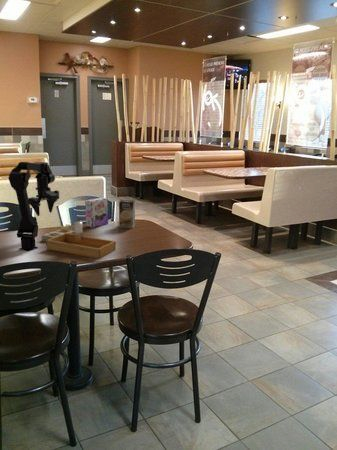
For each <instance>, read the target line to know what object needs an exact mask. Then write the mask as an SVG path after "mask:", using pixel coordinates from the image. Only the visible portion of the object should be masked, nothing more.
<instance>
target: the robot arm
mask: <svg viewBox="0 0 337 450" xmlns="http://www.w3.org/2000/svg"><path fill="white" fill-rule="evenodd" d="M22 171H26V172H22ZM30 171H33V173H35V174H36V175H35V177H34V178H35V179H36V187H35V190H36V191H37V194H36V195H35V196H36V197H34V196H32V197H29V196H28V191H27V188H28V186H29V184H30V183H29V182H30V181H29V180H30V178H31V177H32V175H31V172H30ZM55 181H56V177H55V175H54V173H53V170H51V167H50V164H49V163H48V162H46V161H44V162H43V161H41V162H40V161H35V162H29V161H20V162H18V164H17V165H16V166H15V167H14V168H12V169H11V171H10V172H9V175H8V182H9V184H10V186H11V188H12V190H14V191H15V193H16V198H17V203H18V209H19V212H20V216H21V217H20V221H19V224H18V225H19V227H18V228H17V232H16V236H17V238H20V246H21V247H18V248H19V250H21V251H25V252H26V251H27V252H29V251H32V250H35V249H37V248H38V246H37V245H36V238H37V237H38V233H39V225H38V220H37V217H39V216H40V206H41V205H42V204H41V202H42V201H46V204H47V208H48V212H49V213H52V212H53V210H54V209H53V208H54V206H55V203H56V202H57V201H58V200H59V199H60V191H59V190H56V189H55V190H51V189H52V188H51V187H49V184H52V183H54V182H55ZM31 208H32V209H33V211H34V212H35V214H36V216H37V217H36V216H33V215H32V211H31Z"/></svg>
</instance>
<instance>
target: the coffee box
mask: <svg viewBox="0 0 337 450" xmlns="http://www.w3.org/2000/svg"><path fill="white" fill-rule="evenodd" d="M135 226H136V200H131V199H130V200H129V199H121V200H119V202H118V228H125V229H127V228H129V229H134V227H135Z"/></svg>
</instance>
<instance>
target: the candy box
mask: <svg viewBox="0 0 337 450" xmlns="http://www.w3.org/2000/svg"><path fill="white" fill-rule="evenodd" d="M108 201H109V200H108V198H107V197H98V198H91V199H85V206H84V207H85V227H88V228H92V229H93V228H96V227H97V228H98V227H102V226H105V225H108V224H109V208H108V207H109V204H108V203H109V202H108Z"/></svg>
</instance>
